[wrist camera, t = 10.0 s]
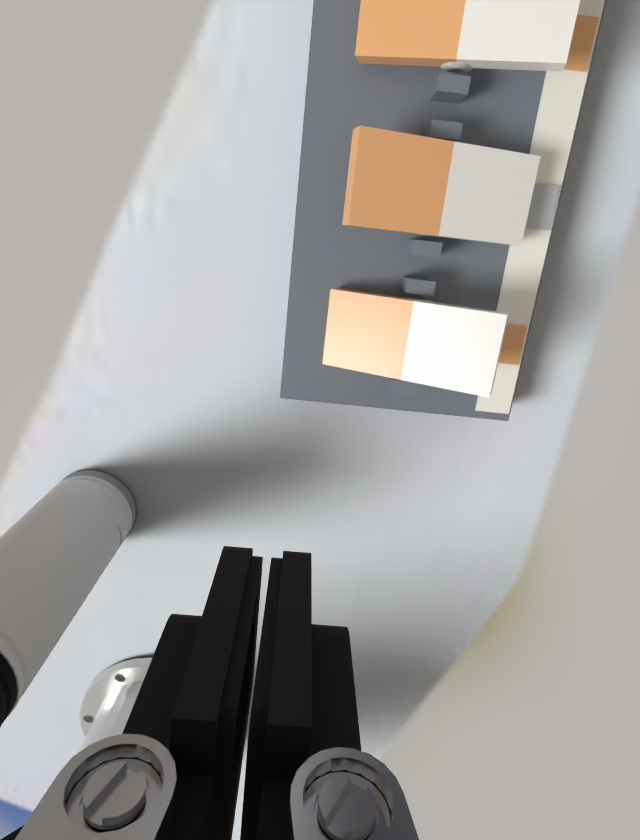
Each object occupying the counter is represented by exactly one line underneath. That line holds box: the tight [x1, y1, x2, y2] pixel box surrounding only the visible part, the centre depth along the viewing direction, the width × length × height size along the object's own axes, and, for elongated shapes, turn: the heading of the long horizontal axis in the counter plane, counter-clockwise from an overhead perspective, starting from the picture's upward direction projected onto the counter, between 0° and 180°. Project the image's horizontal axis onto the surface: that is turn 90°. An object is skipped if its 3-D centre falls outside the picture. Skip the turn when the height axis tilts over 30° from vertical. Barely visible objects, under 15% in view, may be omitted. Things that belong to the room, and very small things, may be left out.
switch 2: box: [342, 126, 541, 246], centre depth 28 cm, size 4×10×2 cm, turn 84°
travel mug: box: [0, 470, 136, 727], centre depth 31 cm, size 6×7×20 cm
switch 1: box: [355, 0, 580, 73], centre depth 26 cm, size 4×10×2 cm, turn 84°
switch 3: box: [322, 288, 509, 398], centre depth 31 cm, size 4×10×2 cm, turn 84°
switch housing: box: [280, 0, 606, 421], centre depth 31 cm, size 26×15×5 cm, turn 174°
